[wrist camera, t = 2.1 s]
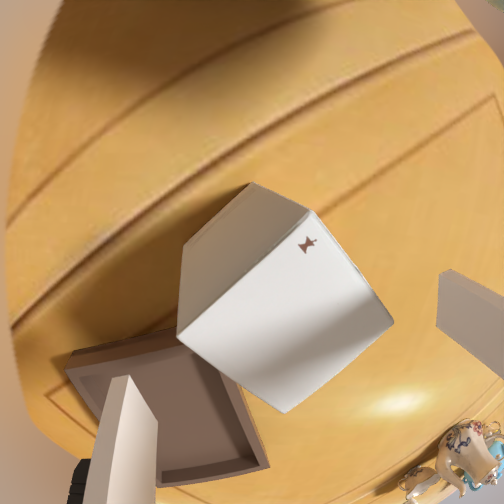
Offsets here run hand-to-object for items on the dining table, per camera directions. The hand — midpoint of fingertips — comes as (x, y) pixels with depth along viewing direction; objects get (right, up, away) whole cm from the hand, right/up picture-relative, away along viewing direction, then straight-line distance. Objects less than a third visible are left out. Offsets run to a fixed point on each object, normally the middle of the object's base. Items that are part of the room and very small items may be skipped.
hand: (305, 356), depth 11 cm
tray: (-9, -12, +17) cm, 23 cm away
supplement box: (-2, +4, +13) cm, 14 cm away
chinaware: (+38, -34, +33) cm, 61 cm away
